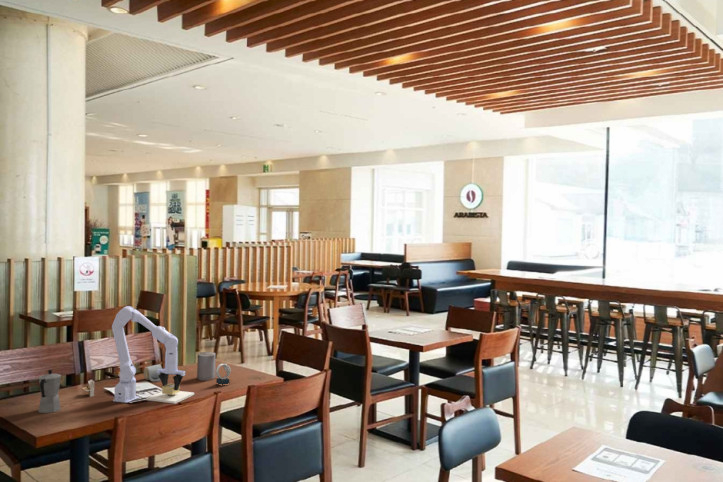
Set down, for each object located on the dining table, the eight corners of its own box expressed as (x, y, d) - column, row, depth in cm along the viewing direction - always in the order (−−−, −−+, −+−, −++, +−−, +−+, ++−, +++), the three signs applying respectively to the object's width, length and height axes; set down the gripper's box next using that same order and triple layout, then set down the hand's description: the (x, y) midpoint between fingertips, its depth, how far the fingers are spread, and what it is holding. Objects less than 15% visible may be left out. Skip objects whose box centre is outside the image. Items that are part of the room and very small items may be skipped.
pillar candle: (196, 376, 323) (197, 349, 323) (214, 375, 326) (215, 349, 326) (197, 381, 314) (197, 353, 313) (215, 380, 317) (216, 352, 316)
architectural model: (86, 398, 279) (87, 382, 279) (82, 395, 284) (82, 380, 284) (94, 397, 282) (94, 381, 282) (89, 394, 287) (89, 378, 287)
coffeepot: (45, 405, 265) (45, 366, 265) (66, 405, 266) (67, 366, 266) (29, 416, 250) (29, 374, 249) (52, 416, 250) (52, 374, 250)
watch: (232, 384, 309) (232, 363, 309) (219, 386, 303) (219, 365, 303) (226, 382, 313) (226, 361, 313) (213, 384, 307) (213, 364, 307)
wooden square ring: (172, 394, 279) (172, 387, 279) (162, 393, 280) (162, 386, 280) (179, 391, 284) (179, 384, 284) (169, 390, 286) (169, 383, 286)
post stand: (175, 403, 272) (175, 391, 272) (146, 400, 277) (146, 388, 277) (194, 394, 288) (194, 383, 288) (166, 391, 292) (166, 380, 292)
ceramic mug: (142, 379, 316) (143, 364, 315) (157, 376, 321) (158, 363, 321) (149, 383, 308) (150, 369, 307) (165, 381, 313) (165, 367, 313)
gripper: (189, 360, 284) (188, 388, 284) (163, 358, 288) (163, 385, 288) (180, 364, 277) (180, 392, 277) (154, 361, 281) (154, 389, 281)
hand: (170, 389), depth 282 cm, fingers closed on wooden square ring, 6 cm apart
